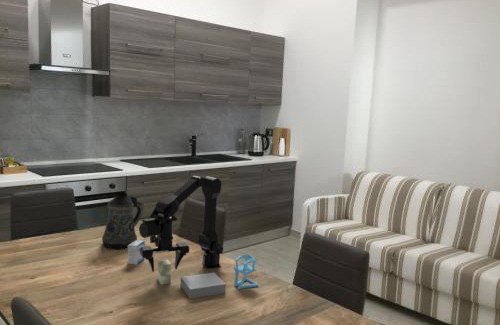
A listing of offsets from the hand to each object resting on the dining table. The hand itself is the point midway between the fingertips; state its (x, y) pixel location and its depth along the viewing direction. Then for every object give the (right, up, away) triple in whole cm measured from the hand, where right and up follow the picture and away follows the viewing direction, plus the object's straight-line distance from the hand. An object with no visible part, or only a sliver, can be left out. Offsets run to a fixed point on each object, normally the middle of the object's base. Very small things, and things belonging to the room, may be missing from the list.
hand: (164, 270), depth 175 cm
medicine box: (-17, -1, +20) cm, 26 cm away
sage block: (0, -5, +1) cm, 5 cm away
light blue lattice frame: (+32, -6, +1) cm, 33 cm away
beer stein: (-30, +3, +43) cm, 52 cm away
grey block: (+16, -7, -5) cm, 18 cm away
